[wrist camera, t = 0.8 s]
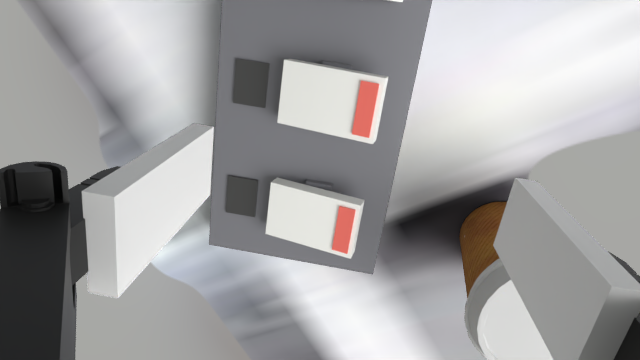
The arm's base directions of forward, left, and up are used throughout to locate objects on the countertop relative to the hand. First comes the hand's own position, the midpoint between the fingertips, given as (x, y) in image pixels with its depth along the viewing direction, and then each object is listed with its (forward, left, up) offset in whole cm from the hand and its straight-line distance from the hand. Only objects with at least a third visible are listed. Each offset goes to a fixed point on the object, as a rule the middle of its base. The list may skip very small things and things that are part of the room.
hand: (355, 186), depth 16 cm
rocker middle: (0, -2, -15) cm, 15 cm away
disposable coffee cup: (+10, +13, -20) cm, 26 cm away
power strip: (0, -4, -20) cm, 20 cm away
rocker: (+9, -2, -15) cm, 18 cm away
